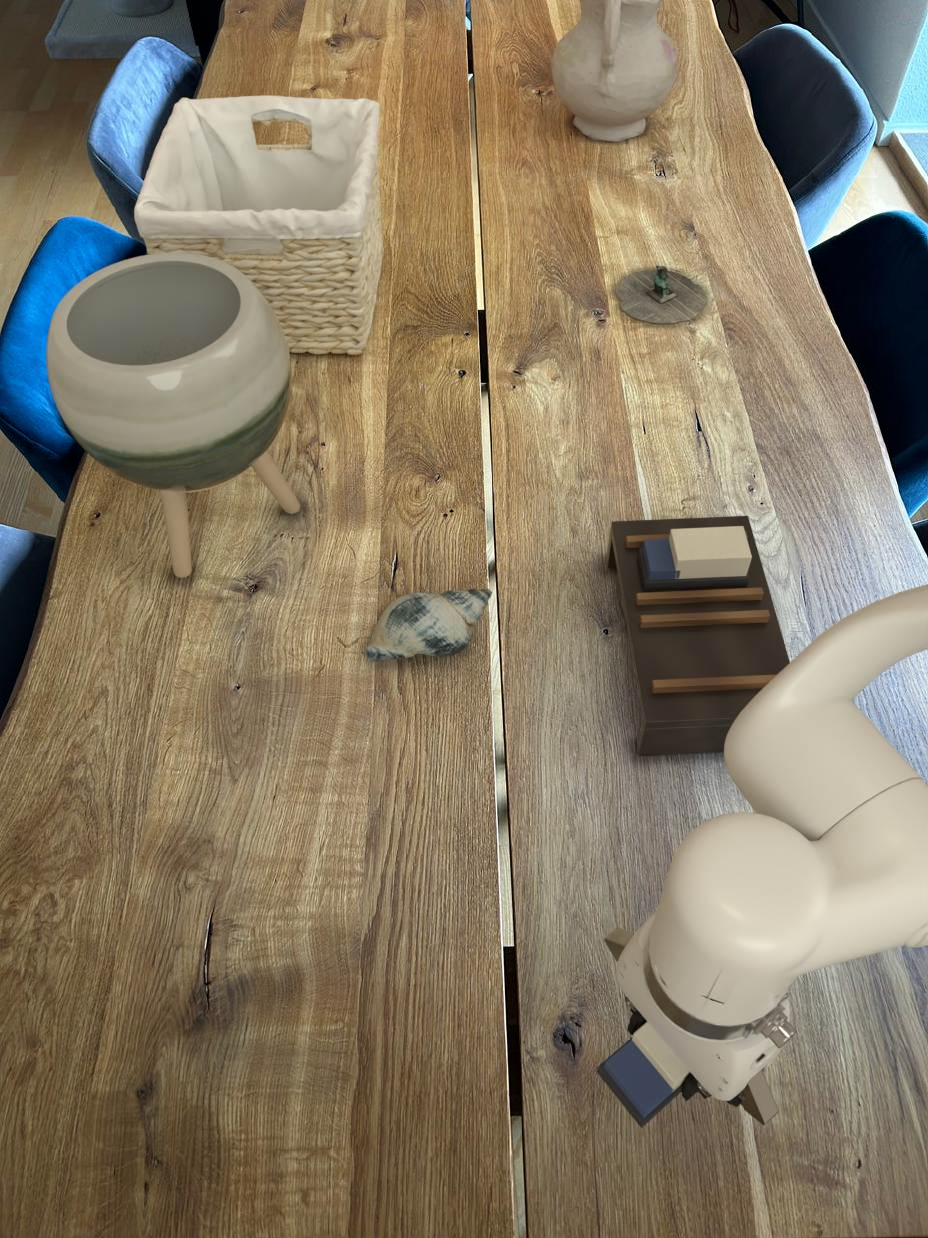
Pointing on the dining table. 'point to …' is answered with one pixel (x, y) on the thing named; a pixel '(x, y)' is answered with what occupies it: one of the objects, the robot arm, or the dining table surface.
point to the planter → (173, 379)
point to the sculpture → (660, 296)
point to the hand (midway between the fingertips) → (672, 1050)
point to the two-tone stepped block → (696, 559)
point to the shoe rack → (694, 643)
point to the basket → (277, 208)
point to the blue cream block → (644, 1074)
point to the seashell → (427, 624)
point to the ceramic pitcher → (614, 68)
